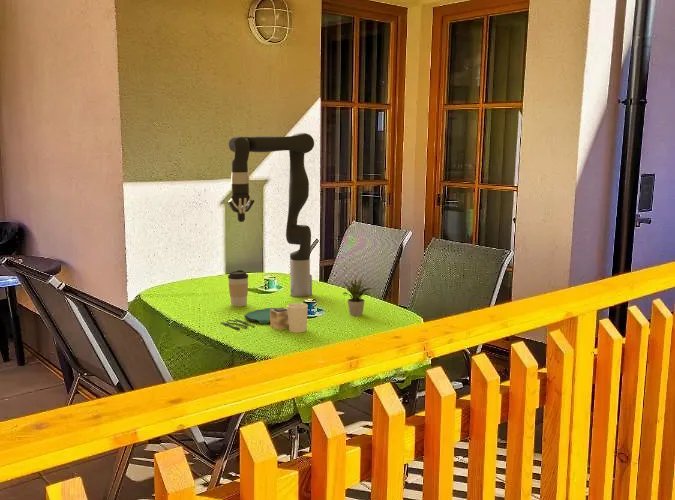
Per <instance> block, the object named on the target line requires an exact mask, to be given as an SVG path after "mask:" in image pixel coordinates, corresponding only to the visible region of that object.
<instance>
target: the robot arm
mask: <svg viewBox="0 0 675 500" xmlns="http://www.w3.org/2000/svg"><path fill="white" fill-rule="evenodd" d="M227 144H228V148H229V150H230V151H231V152H232V153H234V158H233V159H232V160H231V177H230V179H231V180H230V181H231V198H230V200H227V202H226V204H227V206H229V207H230V209H231V210H232V211H233V212H234V213H237V221H238V222H239V223H242V222H243V223H244V221H245V220H246V213H247V212H249V211H250V209H251V208H252V206H253V204H254V203H255V200H254V199H252V198H251V196H250V194H249V193H250V179H249V171H248V170H249V167H248V162H249V157H250V152H251V153H271V152H281V151H283V152H284V151H288V153H289V182H288V212H287V221H286V228H285V229H286V230H285V238H286V239H285V240H286V241H287V244H289V245H296V246H297V245H299V248H298V249H297V250H295V251H292V252H291V253H289V268H290V270H289V271H290V273H289V274H290V277H289V278H290V296H291V297H295V298H296V297H298V298H302V297H303V298H305V297H308V296H309V297H310V296H311V295H312V296H313V277H312V274H311V261H310V260H311V250H312V249H311V246H312V229H311V228H310V226H309V225H307V224H298V218H299V214H300V212H301V210H302V209H303V208H304V206H305V204H306V202H307V201H308V198H309V196H310V195H309V194H310V193H309V191H310V183H309V182H310V181H309V180H310V179H309V178H308V174H307V171H306V168H305V167H306V166H305V155H306V154H308V153H309V152H311V151H312V150H313V149H314V146H315V140H314V138H313V136H312V135H311V134H309V133H307V132H306V133H305V132H300V133H294V134H293V135H289V136H275V135H274V136H271V135H270V136H269V135H268V136H266V135H262V136H261V135H259V136H258V135H257V136H233V137H231V138H230V139H229V141H228V143H227ZM234 204H235V205H234Z"/></svg>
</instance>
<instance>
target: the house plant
mask: <svg viewBox="0 0 675 500" xmlns="http://www.w3.org/2000/svg"><path fill="white" fill-rule="evenodd" d="M363 280H364V278H360V279H359V280H358V282H357V277H355V278H354V282H353V281H352V280H350V279H349V282H350V285H351V286H350V285H349V284H348V282H347V281H341V283H343V284H344V285H345V286H346V287H347V288H346V291H348V292H343V293H342V295H343V297H344V296H346V295H348V296H349V297H350V298H348V299H347V304H348V309H349V315H350V317H351V316H352V317H360V316H363V311H364V307H365V299H364V298H362V297H364V296H370V295H372V293H371V292H370V290H373V289H374V288H373V287H372V288H371V287H366V286H367V285H368V284H369V283H371V280H370V281H367V282H366V283H365V284H362V283H363ZM364 287H366V288H364ZM368 291H369V292H368Z"/></svg>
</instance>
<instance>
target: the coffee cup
mask: <svg viewBox="0 0 675 500" xmlns="http://www.w3.org/2000/svg"><path fill="white" fill-rule="evenodd" d="M227 279H228V290H229V297H230V306H232V307H244V306H247V305H248V292H249V274H248V273H247V272H246V271H244V270H243V269H242V270H241V269H238V270H236V271H230V273H229V274H228V275H227Z"/></svg>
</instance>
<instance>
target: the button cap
mask: <svg viewBox="0 0 675 500" xmlns="http://www.w3.org/2000/svg"><path fill="white" fill-rule="evenodd" d="M274 308H275V309H274V311H277V312H283V311H287V308H286V307H282V306H281V307H274Z"/></svg>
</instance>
